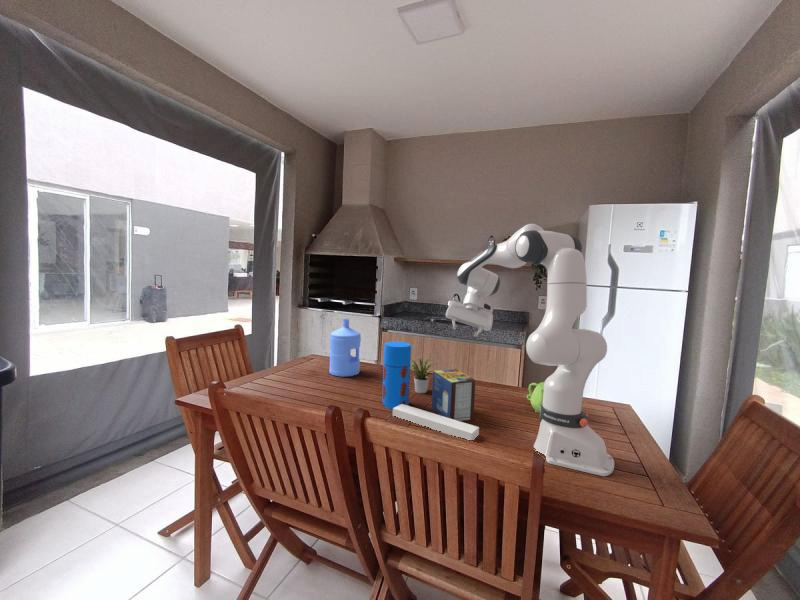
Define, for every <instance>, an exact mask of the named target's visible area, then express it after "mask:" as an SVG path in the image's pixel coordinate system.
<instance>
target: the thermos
mask: <svg viewBox="0 0 800 600" xmlns="http://www.w3.org/2000/svg"><path fill="white" fill-rule="evenodd" d="M411 359H412V345H411V343H408V342H404V341H388V342H385V343H384V347H383V368H382V370H383V373H382V406H383V407H384V408H386V409H388V408H389V409H390V410H393V408H394V407H396V406H399V405H401V404H404V405H408V406H409V400H410V386H411V385H410V382H411V365H412V364H411V362H412V360H411ZM389 409H388V410H389Z"/></svg>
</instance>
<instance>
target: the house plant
mask: <svg viewBox="0 0 800 600" xmlns="http://www.w3.org/2000/svg"><path fill="white" fill-rule="evenodd" d="M416 357H417V359H418V360H419V365H418V364H417V362H416V361H415V360H414V359H413V358H411V364H410V365H411V366H412V368H411V371H413V373H412V375H416V376H413V380H414V391H415V392H416V393H418V394H425V393H427V392H428V388H429V384H430V377H429V375H433V371H434V370H429V368H430V367H431V366H432V365H434V364H435V363H436V362H437V363H438V360H435V361H433V360H430V359H431V358H432V356H430V357H428V358H427V359H426V361H425V362H424V360H423V358H422V357H421V358H420V357H419V356H416ZM419 366H420V368H419ZM428 370H429V371H428ZM414 372H415V373H414Z"/></svg>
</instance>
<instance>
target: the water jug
mask: <svg viewBox="0 0 800 600" xmlns="http://www.w3.org/2000/svg"><path fill="white" fill-rule="evenodd" d="M349 324H350V319H349V318H348V319H347V318H344V319H342V327H340V328H338V329H336V330H333V331H331V332H330V336H329V337H330V338H329V342H330V343H329V345H330V347H329V374H330V375H332V376H335V377H340V378H341V377H343V378H345V377H346V378H348V377H354V375H355V376H357V375H359V373H360V371H361V368H360V367H361V366H360V363H361V362H360V361H361V360H360V348H361V341H362V340H361V339H362V337H361V333H360V332H359V331H357V330H356V329H353V328H351V327H350V325H349ZM352 350H355V356H354V355H353V356H352V355H351V351H352Z"/></svg>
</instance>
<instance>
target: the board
mask: <svg viewBox="0 0 800 600" xmlns="http://www.w3.org/2000/svg"><path fill="white" fill-rule="evenodd" d="M394 416H396V417H395V418H397V417H398V418H397V419H400V418H401V419H400V420H403V419H405V420H404V421H406V420H408V421H407V422H409V421H411V422H410V423H412V422H413V424H415V423H416V424H415V425H418V424H419V425H418V426H421V425H422V426H421V427H424V426H426V427H425V428H427V427H429V428H428V429H430V428H431V430H434V431H436V430H437V431H436V432H439V431H441V432H440V433H442V434H444V435H449V436H451V435H452V436H451V437H454V436H456V437H455V438H457V437H461V438H465V439H467V440H473V441H475V438H476V437H477V436H478V435H480V427H479V426H477V425H473V424H469V423H466V422H464V421H457V420H454V419H450V418H447V417H444V416H441V415H440V414H438V413H437V414H436V413H434V412H430V411H427V410H424V409H420V408H417V407H415V406H414V407H413V406H410V405H409V404H408V405H404V404H401V405H399V406H396V407H394V408H393V409H392V417H394ZM478 437H479V436H478ZM478 437H477V438H478ZM477 438H476V439H477Z"/></svg>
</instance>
